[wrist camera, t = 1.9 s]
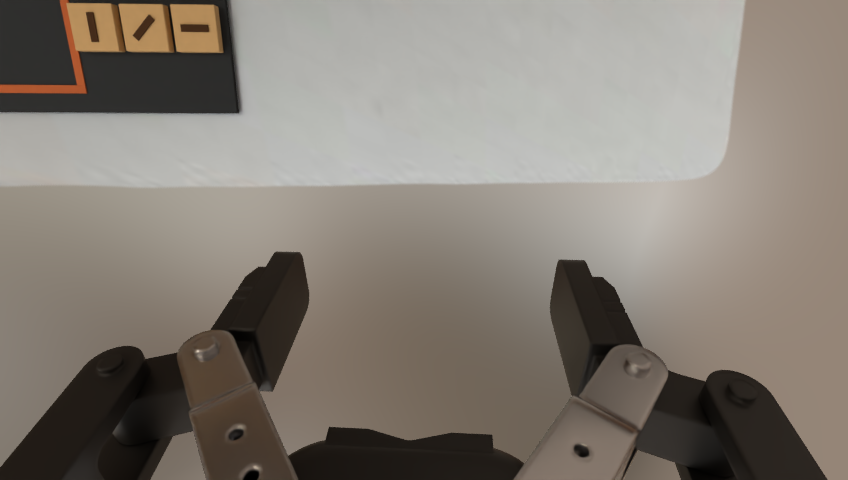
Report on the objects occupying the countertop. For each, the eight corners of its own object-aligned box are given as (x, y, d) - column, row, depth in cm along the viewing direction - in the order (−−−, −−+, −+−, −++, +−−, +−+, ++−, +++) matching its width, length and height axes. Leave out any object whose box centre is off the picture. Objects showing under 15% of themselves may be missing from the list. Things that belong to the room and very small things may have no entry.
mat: (-67, 111, 35) (-85, 111, 34) (-120, -65, 32) (-142, -72, 31) (239, 113, 36) (232, 113, 35) (220, -60, 32) (212, -66, 31)
